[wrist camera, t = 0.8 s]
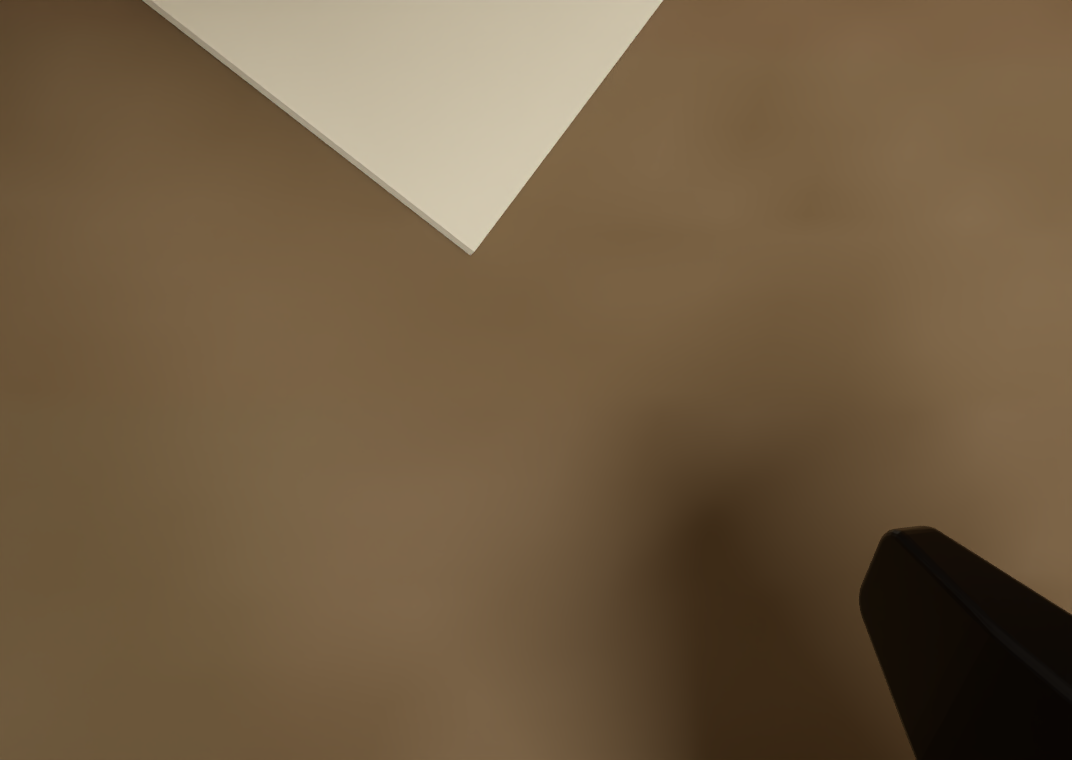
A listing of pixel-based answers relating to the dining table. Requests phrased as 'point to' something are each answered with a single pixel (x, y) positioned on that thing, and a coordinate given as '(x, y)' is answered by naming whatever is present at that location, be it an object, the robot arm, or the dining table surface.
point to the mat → (425, 85)
